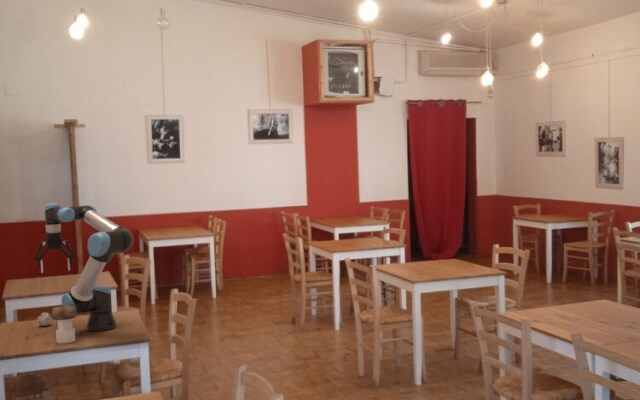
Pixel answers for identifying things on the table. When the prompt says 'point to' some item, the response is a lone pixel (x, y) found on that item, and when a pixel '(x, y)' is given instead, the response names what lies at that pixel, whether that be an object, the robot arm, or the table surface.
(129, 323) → the table surface
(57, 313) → the walnut lid
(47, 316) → the game die
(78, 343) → the table surface
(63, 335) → the white stepped block
